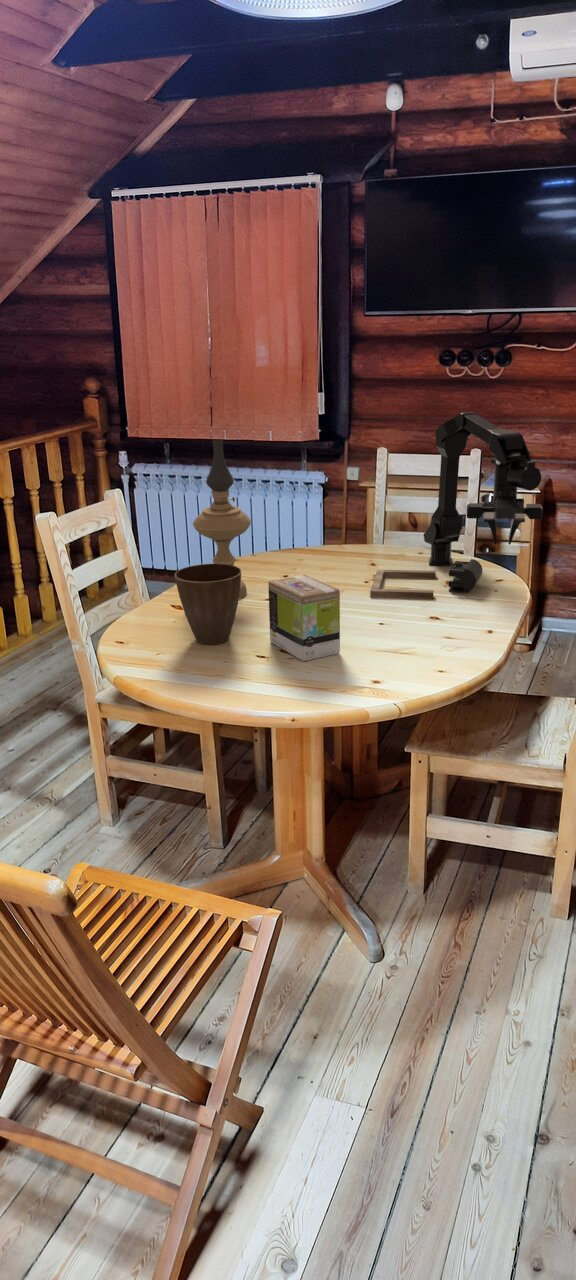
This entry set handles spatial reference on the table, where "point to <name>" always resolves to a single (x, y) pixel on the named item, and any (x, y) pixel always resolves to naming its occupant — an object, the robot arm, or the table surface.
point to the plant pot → (209, 599)
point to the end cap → (464, 576)
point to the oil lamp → (222, 512)
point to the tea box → (304, 617)
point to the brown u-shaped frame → (397, 593)
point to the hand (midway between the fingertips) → (502, 544)
